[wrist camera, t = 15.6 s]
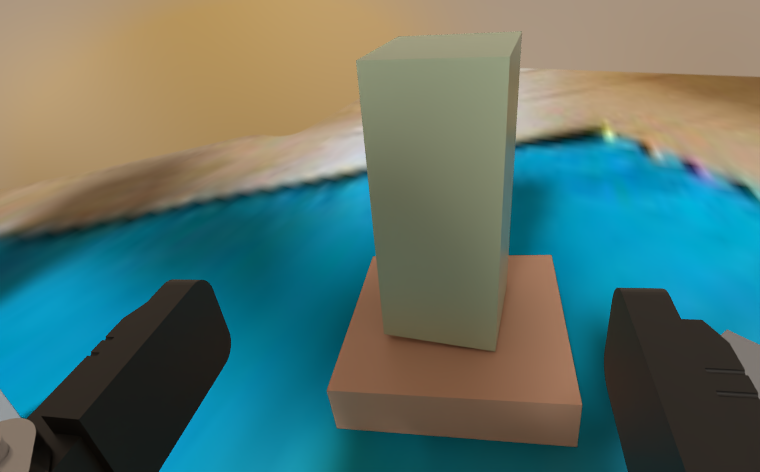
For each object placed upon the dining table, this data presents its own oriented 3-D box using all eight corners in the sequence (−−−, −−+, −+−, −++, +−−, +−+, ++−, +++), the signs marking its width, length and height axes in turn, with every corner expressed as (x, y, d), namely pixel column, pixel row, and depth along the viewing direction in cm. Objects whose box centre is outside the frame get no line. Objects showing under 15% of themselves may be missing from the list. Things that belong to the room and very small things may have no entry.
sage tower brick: (383, 334, 22) (356, 60, 16) (412, 273, 26) (397, 36, 20) (495, 351, 21) (509, 56, 15) (506, 284, 25) (522, 31, 19)
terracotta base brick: (339, 436, 22) (326, 390, 20) (379, 296, 30) (372, 256, 28) (576, 455, 19) (582, 405, 18) (548, 298, 28) (551, 255, 26)
